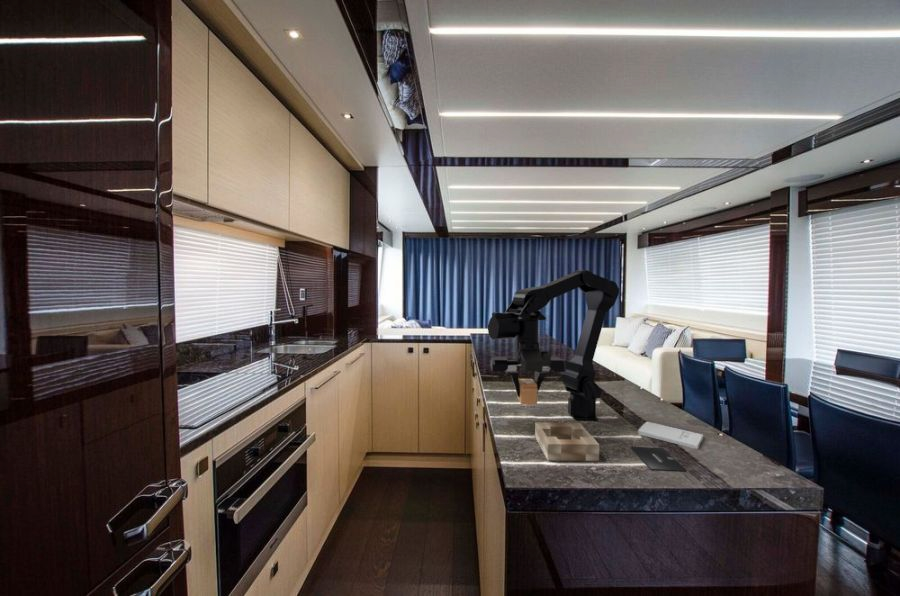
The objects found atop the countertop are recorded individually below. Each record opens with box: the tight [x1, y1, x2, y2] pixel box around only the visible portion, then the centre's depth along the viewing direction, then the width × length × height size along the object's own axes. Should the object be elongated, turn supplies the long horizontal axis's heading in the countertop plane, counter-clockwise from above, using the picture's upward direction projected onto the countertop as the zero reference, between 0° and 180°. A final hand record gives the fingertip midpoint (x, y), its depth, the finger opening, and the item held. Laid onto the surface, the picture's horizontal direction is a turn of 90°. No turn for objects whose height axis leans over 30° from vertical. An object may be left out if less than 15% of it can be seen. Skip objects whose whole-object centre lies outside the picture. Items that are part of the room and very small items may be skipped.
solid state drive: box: [630, 446, 687, 473], centre depth 77 cm, size 7×10×1 cm
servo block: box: [516, 378, 539, 405], centre depth 95 cm, size 4×9×6 cm, turn 179°
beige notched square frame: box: [534, 422, 600, 462], centre depth 82 cm, size 11×12×4 cm
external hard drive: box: [637, 421, 704, 450], centre depth 89 cm, size 2×8×12 cm
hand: (526, 396), depth 95 cm, fingers closed on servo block, 4 cm apart
